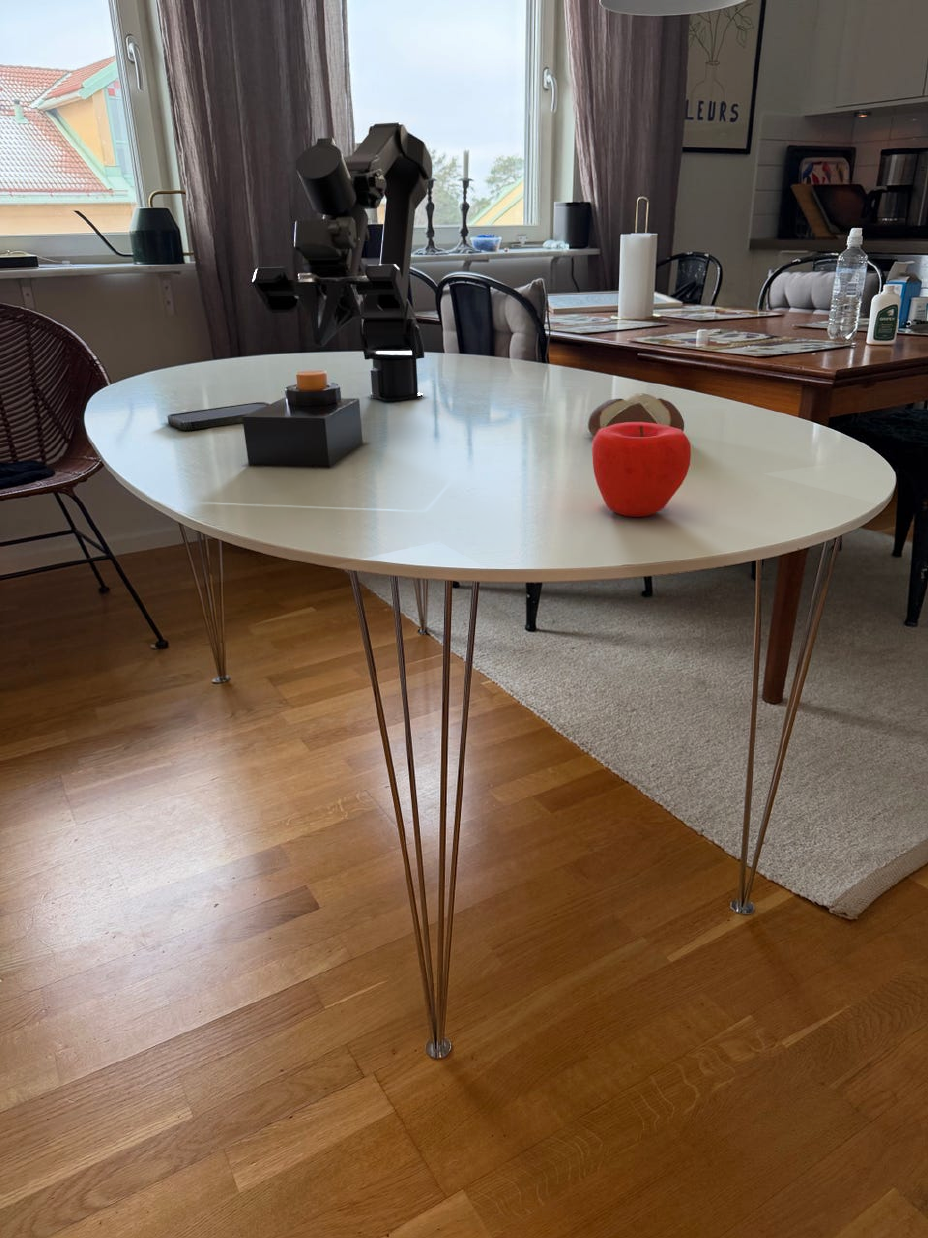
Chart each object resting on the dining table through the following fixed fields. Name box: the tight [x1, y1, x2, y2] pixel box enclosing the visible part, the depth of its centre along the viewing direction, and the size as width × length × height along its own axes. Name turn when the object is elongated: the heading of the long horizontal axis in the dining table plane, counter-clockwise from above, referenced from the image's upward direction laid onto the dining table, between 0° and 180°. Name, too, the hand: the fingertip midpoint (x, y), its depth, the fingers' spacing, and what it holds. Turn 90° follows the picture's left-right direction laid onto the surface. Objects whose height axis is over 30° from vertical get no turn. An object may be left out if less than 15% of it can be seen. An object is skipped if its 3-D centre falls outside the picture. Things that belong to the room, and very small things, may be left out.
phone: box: [166, 401, 270, 431], centre depth 124 cm, size 8×1×15 cm
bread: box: [587, 393, 685, 437], centre depth 106 cm, size 11×11×5 cm
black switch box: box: [242, 381, 364, 469], centre depth 103 cm, size 13×10×8 cm
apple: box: [591, 422, 692, 518], centre depth 78 cm, size 9×9×8 cm
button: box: [295, 370, 328, 390], centre depth 104 cm, size 4×4×2 cm
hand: (318, 344), depth 105 cm, fingers closed
